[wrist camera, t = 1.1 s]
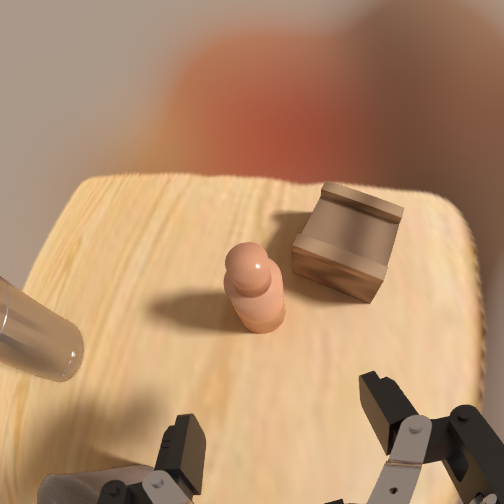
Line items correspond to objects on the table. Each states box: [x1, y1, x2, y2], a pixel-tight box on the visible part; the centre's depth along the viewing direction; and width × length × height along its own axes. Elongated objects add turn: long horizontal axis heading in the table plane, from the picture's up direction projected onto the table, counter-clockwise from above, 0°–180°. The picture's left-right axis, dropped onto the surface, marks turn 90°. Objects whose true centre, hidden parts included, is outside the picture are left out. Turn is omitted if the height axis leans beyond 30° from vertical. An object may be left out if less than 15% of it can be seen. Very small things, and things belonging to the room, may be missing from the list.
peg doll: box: [224, 242, 285, 334], centre depth 28 cm, size 5×5×12 cm
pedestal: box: [292, 181, 404, 303], centre depth 33 cm, size 10×10×6 cm
